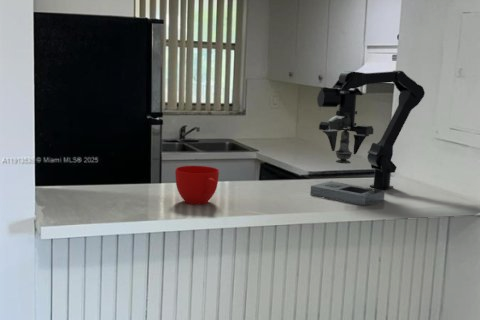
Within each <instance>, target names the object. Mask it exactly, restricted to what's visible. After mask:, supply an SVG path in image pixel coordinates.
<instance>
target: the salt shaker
mask: <svg viewBox="0 0 480 320" xmlns="http://www.w3.org/2000/svg"><path fill="white" fill-rule="evenodd" d="M339 142H340V143H339V147H338V148H339V149H338V150H335V154H336V157H337V158H338V160H336V161H335V163H338V164H346V165H347V164H351V161H350V160H349V159H350V158H351V157H352V155H353V152H352V151H351V150H350V147H349V146H350V131H345V130H342V131H341V134H340V140H339Z"/></svg>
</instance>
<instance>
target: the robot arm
mask: <svg viewBox="0 0 480 320" xmlns="http://www.w3.org/2000/svg"><path fill="white" fill-rule="evenodd" d="M386 83H387V84H388V83H393V84H394V86H395V88H396V89H397V90H398V92H399V95H398V105H397V108H396V109H395V110H394V113H393V115H392V117H391V119H390V120H389V123H388V124H387V127H386V128H385V131H384V132H383V133H384V134H383V135H382V137H381V139H380V140H379V141H378V142H377V143H375V142H372V143H371V145H370V149H368V151H367V161H368V163H369V164H370V167H371V169H372V170H374V175H373V177H374V178H373V184H371V185H369V188H373V189H378V190H384V191H386V190H390V189H393V188H394V185H391V176H392V173H393V174H394V173H395V172H396V171H397V166H396V165H395V164H394V162H393V161H392V159H393V155H394V153H393V152H394V145H395V143H396V141H397V139H398V137H399V135H400V132H401V131H402V130H403V127H404V125H405V123H406V121H407V120H408V117H409V115H410V114H411V111H412V110H413V109H414V108H415V107H417V106H418V105H419V104H420V103H421V101H422V100H423V98H424V96H425V92H426V91H425V90H424V89H425V88H424V87H423V86H422V85H420V84H418V83H417V82H416V81H415V80H414V79H413V78H410V77H409V76H408V75H407V74H406V73H405V72H404V71H403V70H392V71H381V72H380V71H379V72H360V71H347V70H346V71H342V72H341V73H340V74H339V76H338V80H336V82H335V83H334V85H333V86H332V87H327V86H325V87H324V86H321V87H320V90H319V92H318V94H317V98H316V99H317V100H316V101H317V102H316V103H317V105H318V107H319V108H337V107H338V110H336V112H335V116H333V117H331V118H329V119H328V120H325V121H320V123H319V125H318V130H320V131H322V133H324V134H325V135H326V136H327V138H328V141H329V144H330V148H331V151H332V152H334V151H335V152H336V146H337V140H338V139H337V138H338V132H339V131H348V132H353V133H354V132H355V134H353V137H354V142H353V143H354V144H353V155H356V154H357V153H358V151H359V149H360V147H361V145H362V144H363V142H364V141H365V140H366V138H367V137H369V136H370V135H374V131H375V130H374V128H373V126H372V125H366V124H361V125H359V124H358V125H357V122H355V120H356V115H358V111H357V110H356V108H357V96H363V93H362V91H361V90H360V89H359V88H361V87H364V86H367V85H372V84H373V85H374V84H386Z"/></svg>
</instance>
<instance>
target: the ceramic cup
mask: <svg viewBox="0 0 480 320" xmlns="http://www.w3.org/2000/svg"><path fill="white" fill-rule="evenodd" d="M219 174H220V171H219V169H218V168H216V167H211V166H205V165H183V166H177V167H176V168H175V184H176V189H177V191H178V194H179V196H180V197H181V199H182V200H183V201H184V202H185V203H186V204H188V203H189V204H188V205H195V204H200V205H205V203H206V204H208V201H210V200H211V199H212V198H213V196H214V194H215V193H216V190H217V187H218V183H219Z"/></svg>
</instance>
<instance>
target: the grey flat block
mask: <svg viewBox="0 0 480 320" xmlns="http://www.w3.org/2000/svg"><path fill="white" fill-rule="evenodd" d="M310 196H315V197H319V198H324V199H329V200H334V201H340V202H344V203H349V204H353V205H354V204H355V205H359V206H363V207H365V206H368V205H372V204H375V203H378V202H382V201H384V200H385V190H384V189H378V188H373V187H365V186H361V185H360V186H359V185H355V184H348V183H343V182H339V181H333V180H331V181H326V182H322V183H318V184H313V185H310Z"/></svg>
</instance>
